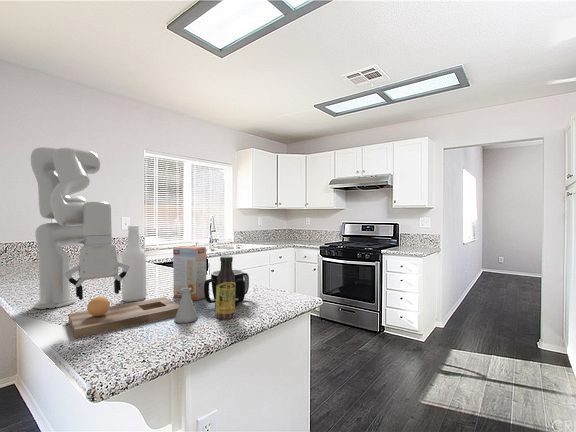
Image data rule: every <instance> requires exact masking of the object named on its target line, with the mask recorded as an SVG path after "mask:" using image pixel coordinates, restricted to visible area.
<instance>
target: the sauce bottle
mask: <svg viewBox="0 0 576 432" xmlns="http://www.w3.org/2000/svg"><path fill="white" fill-rule="evenodd" d="M219 258H220V259H219V261H220V272H219V274H218V276H217V285H216V303H215V316H216V318H217V319H221V320H228V319H230V318H234V316H235V312H236V305H235V275H234V273H233V271H232V270H233V260H234V257H233V256H231V255H230V256H229V255H224V256H220V257H219Z"/></svg>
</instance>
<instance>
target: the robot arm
mask: <svg viewBox="0 0 576 432" xmlns="http://www.w3.org/2000/svg"><path fill="white" fill-rule="evenodd" d="M30 154H31V155H30V166H31V170H32V172H33V175H34V176H35V179H36V182H37V190H38V193H37V194H38V208H39V214H40V216H41V217H42V218H43V219H46V220H47V219H48V220H55V221H56V222H45V223H43V224H40V225H39V226H38V227H36V230H35V232H34V233H35V241H36V245H37V252H38V271H39V272H38V275H39V276H38V280H39V281H38V283H39V285H38V287H39V288H38V289H39V294H38V295H39V301H37V302H36V303H35V302H34V304H33V305H34V308H35V309H37V310H39V309H40V310H44V309H45V310H46V308H49V309H54V308H55V307H56V308H61V307H65V306H69V305H72V304H74V303H75V302H76V298H78V300H79V301H82V300H83V299H84V297H83V295H84V294H83V292H84V291H83V285H82V284H83V283H84V282H85V280H98V279H104V278H105V279H106V278H111V277H113V278H114V281H113V285H114V286H113V287H114V289H113V291H114V294H116V295H119V294H120V291H122V278H123V277H124V276H125V275H126V273H127V272H128V270H129V266H128V265H125V264H122V262H119V261H118V253H117V248H116V245H115V244H113V240H112V239H113V238H112V237H113V236H112V234H113V233H112V232H113V231H112V206H111V204H110V203H109V202H106V201H87V199H86V198H85V197H83V196H79V195H73V194H76V193H80V192H81V191H84V190H85V189H87V188H88V186H89V185H90V177H89V175H92V174H93V175H96V174H97V173H98V172H99V171H100V169H101V161H100V158H99V156H98V154H97V153H96V152H93V151H90V150H84V149H78V148H70V147H60V148H54V147H36V148H33V149H32V151H31V153H30ZM76 246H81V247H80V251H79V257H78V259H79V261H78V265H77V266H74V267H73V268H71V258H70V256H69V254H68V253H67V252H66V251H65V250H64V249H63V248H65V247H76ZM119 267H120V268H121V269H122V268H123V271H122V270H121V272H120V273H119ZM77 272H78V275H79V276H78V278H77V280H76V279H75V278H74V277H73V276H72V275H73V274H76V273H77ZM71 284H72V285H74V287H75V296H76V298H75V297H71ZM56 308H55V309H56Z"/></svg>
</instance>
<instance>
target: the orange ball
mask: <svg viewBox="0 0 576 432" xmlns="http://www.w3.org/2000/svg"><path fill="white" fill-rule="evenodd" d="M109 307H111V304H110V301H109V299H108V298H107V297H105V296H96V297H93V298H92V299H91V300H89V302H88V303H87V307H86V311H88V312H89V314H91V315H92V316H102V315H104V314H105V313H106V312H107V311H108V310H109Z"/></svg>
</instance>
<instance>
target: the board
mask: <svg viewBox="0 0 576 432" xmlns="http://www.w3.org/2000/svg"><path fill="white" fill-rule="evenodd" d="M179 305H180V304H178V303H175V302H174V301H172V300H170V299H169V298H167V297H165V296H162V297H157V298H156V297H155V298H152V299H146V300H145V299H144V300H140V301H134V302H127V303H123V304H117V305H113V306H112V305H110V307H109V310H108V311H107V312H106V313H105V314H104V315H102V316H92V315H91V314H89V312H88V310H83V311H78V312H72V313H68V323H69V326H70V330H71V331H72V335H73V336H74V339H79V338H84V337H89V336H92V335H97V334H101V333H106V332H110V331H115V330H120V329H123V328H128V327H132V326H138V325H142V324H146V323H150V322H151V323H152V322H156V321H161V320H165V319H168V318H172V317H173V318H175V317H176V314H177V311H178V308H179Z"/></svg>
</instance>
